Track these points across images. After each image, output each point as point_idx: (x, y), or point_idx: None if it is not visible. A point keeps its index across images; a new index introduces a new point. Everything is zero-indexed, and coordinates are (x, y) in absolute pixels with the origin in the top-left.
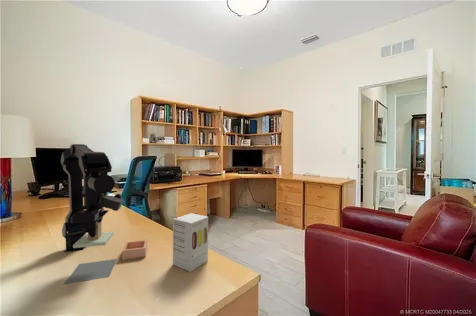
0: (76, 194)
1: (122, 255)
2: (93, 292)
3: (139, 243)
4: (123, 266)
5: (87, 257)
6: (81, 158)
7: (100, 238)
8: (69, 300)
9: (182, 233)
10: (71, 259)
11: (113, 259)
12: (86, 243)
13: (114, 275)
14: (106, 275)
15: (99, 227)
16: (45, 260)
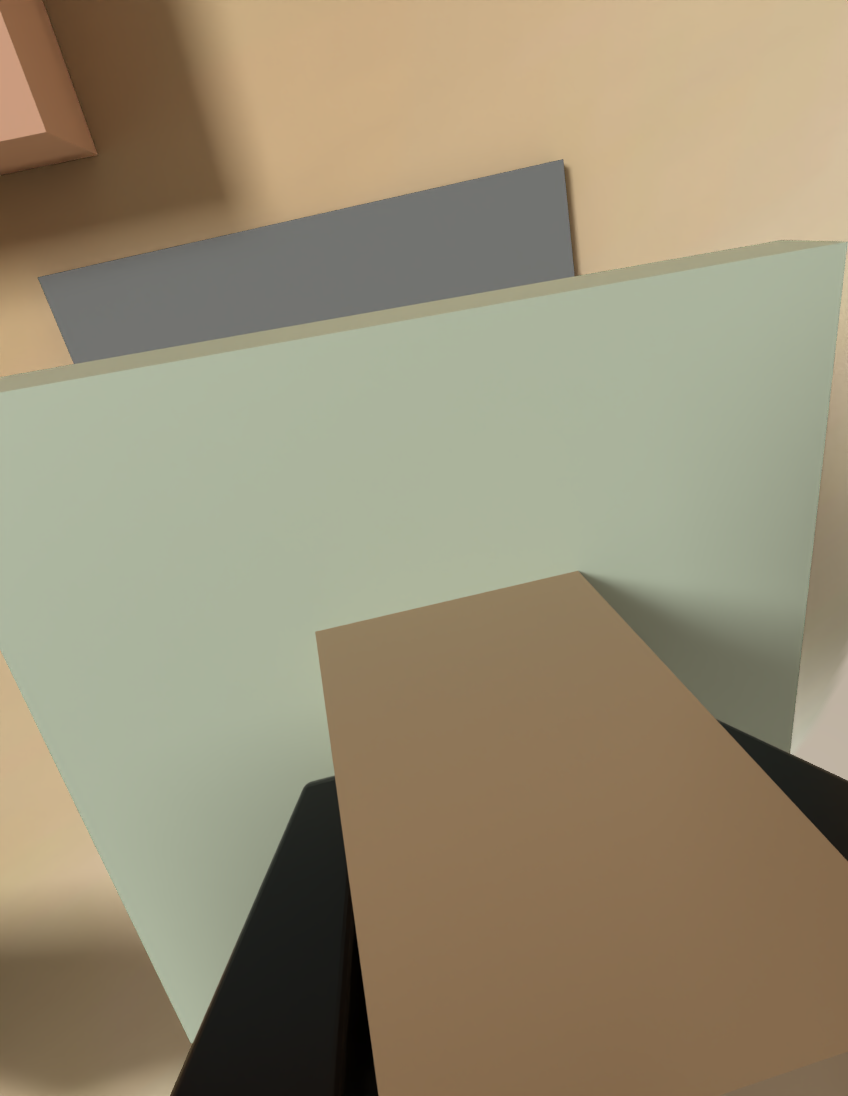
0: None
1: (67, 134)
2: (796, 216)
3: None
4: (256, 58)
5: (14, 734)
6: None
7: (533, 541)
8: (843, 391)
9: None
10: (85, 859)
11: (68, 330)
12: (780, 685)
13: (502, 106)
14: (524, 214)
15: (611, 846)
16: (126, 1041)
